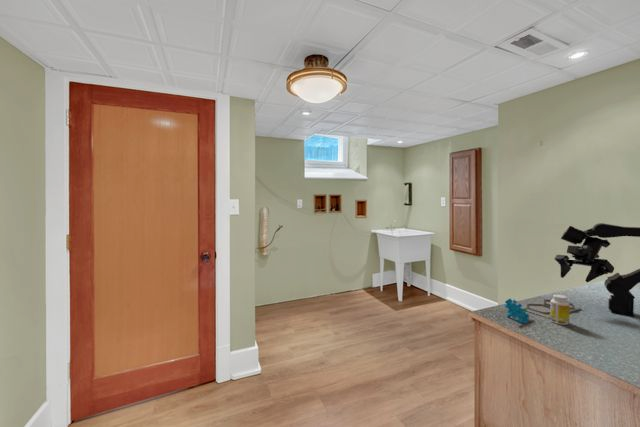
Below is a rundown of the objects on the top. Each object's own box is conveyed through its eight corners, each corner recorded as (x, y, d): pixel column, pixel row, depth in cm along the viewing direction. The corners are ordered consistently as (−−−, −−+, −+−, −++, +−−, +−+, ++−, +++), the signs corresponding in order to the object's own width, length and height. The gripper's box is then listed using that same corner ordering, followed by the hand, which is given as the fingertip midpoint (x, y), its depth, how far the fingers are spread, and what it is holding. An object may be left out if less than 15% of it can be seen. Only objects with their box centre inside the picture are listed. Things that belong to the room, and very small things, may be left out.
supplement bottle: (572, 323, 107) (572, 297, 106) (564, 326, 104) (565, 299, 104) (554, 318, 112) (555, 292, 111) (547, 321, 109) (547, 295, 109)
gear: (519, 322, 105) (502, 297, 111) (506, 329, 108) (491, 304, 115) (538, 321, 109) (520, 297, 115) (525, 328, 112) (509, 304, 119)
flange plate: (550, 300, 130) (550, 295, 130) (581, 309, 120) (581, 303, 120) (519, 308, 122) (519, 303, 122) (550, 318, 111) (550, 312, 111)
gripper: (555, 236, 127) (539, 264, 125) (605, 239, 109) (588, 271, 106) (569, 251, 129) (554, 279, 126) (622, 256, 111) (605, 288, 108)
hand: (573, 279), depth 117 cm, fingers open, 9 cm apart
